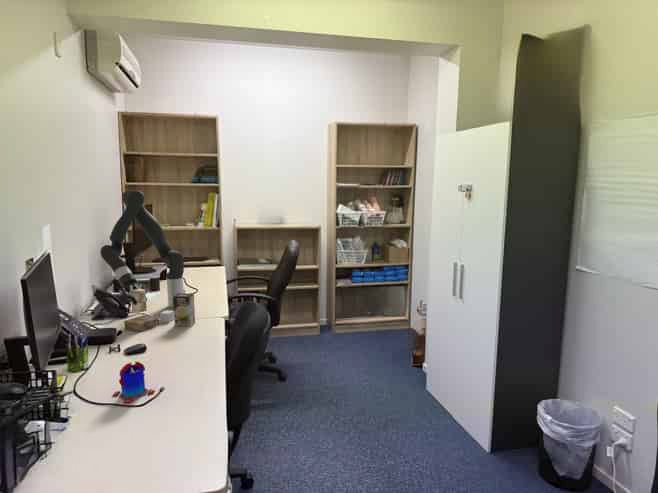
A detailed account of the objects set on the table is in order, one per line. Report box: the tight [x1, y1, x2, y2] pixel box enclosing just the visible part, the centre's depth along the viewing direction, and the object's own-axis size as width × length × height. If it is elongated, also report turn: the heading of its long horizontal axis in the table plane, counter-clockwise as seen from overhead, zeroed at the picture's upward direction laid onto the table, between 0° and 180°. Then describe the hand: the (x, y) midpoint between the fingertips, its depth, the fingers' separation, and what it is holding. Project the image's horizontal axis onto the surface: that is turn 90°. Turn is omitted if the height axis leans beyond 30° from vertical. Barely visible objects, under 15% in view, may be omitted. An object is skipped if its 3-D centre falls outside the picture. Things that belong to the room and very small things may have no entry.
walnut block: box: [123, 314, 158, 333], centre depth 229 cm, size 11×11×4 cm
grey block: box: [159, 309, 175, 323], centre depth 239 cm, size 5×5×5 cm
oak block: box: [130, 289, 148, 314], centre depth 227 cm, size 5×5×11 cm
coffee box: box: [173, 292, 196, 327], centre depth 232 cm, size 9×6×16 cm
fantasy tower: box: [111, 361, 156, 405], centre depth 158 cm, size 12×12×12 cm
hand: (141, 302), depth 226 cm, fingers closed on oak block, 5 cm apart
